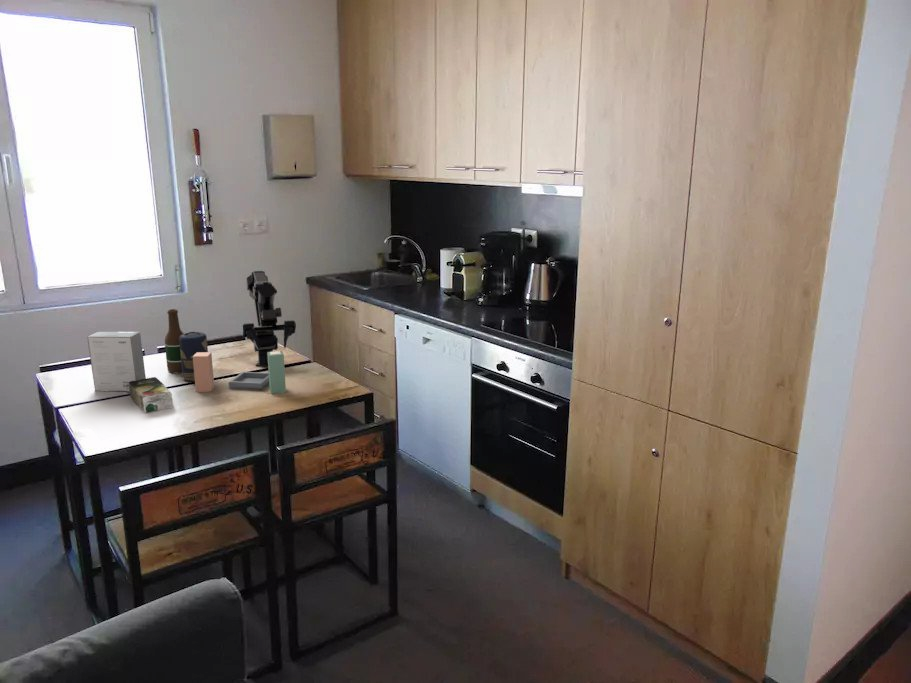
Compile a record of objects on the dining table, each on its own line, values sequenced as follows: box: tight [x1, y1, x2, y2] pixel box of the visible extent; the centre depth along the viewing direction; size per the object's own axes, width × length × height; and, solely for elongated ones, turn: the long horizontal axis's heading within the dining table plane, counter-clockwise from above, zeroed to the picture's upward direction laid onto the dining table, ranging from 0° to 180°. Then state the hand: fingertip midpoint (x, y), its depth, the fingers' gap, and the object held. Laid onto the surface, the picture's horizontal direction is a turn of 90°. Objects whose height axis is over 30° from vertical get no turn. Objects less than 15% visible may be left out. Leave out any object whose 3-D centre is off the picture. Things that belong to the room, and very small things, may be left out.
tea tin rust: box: [193, 351, 215, 393], centre depth 240 cm, size 5×5×13 cm
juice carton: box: [129, 376, 174, 413], centre depth 228 cm, size 20×10×6 cm, turn 38°
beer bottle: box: [164, 308, 185, 374], centre depth 259 cm, size 8×8×24 cm
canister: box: [179, 331, 209, 382], centre depth 250 cm, size 10×10×18 cm
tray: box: [228, 371, 269, 391], centre depth 247 cm, size 12×12×2 cm
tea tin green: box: [267, 350, 287, 395], centre depth 239 cm, size 5×5×14 cm
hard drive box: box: [87, 331, 147, 392], centre depth 239 cm, size 16×8×20 cm, turn 89°
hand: (272, 348), depth 244 cm, fingers open, 9 cm apart
